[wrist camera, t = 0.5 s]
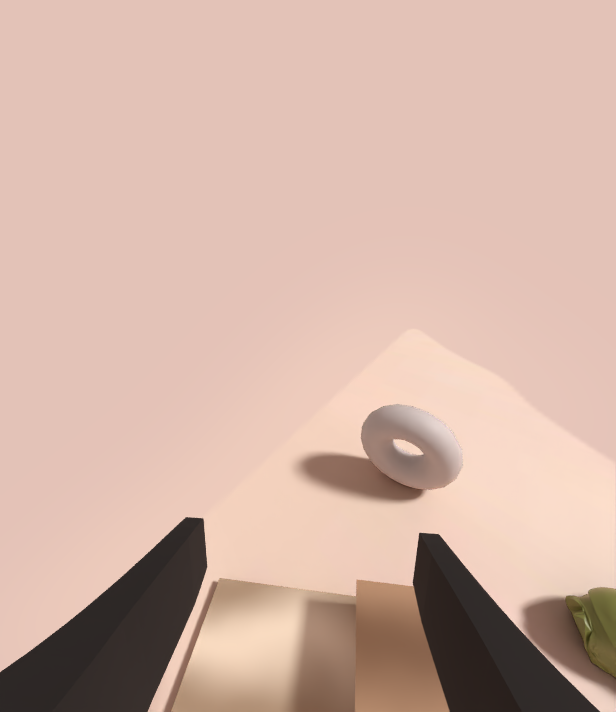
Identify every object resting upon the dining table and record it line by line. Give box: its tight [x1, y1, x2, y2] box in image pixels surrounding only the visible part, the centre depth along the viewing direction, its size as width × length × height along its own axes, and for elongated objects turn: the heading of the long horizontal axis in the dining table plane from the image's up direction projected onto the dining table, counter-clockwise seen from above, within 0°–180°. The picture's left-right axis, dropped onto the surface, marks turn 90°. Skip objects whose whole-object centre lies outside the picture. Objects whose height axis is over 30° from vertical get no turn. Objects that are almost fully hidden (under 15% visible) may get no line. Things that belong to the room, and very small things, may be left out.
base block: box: [355, 580, 450, 712], centre depth 18 cm, size 6×6×4 cm
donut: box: [361, 404, 463, 490], centre depth 29 cm, size 10×3×10 cm, turn 57°
